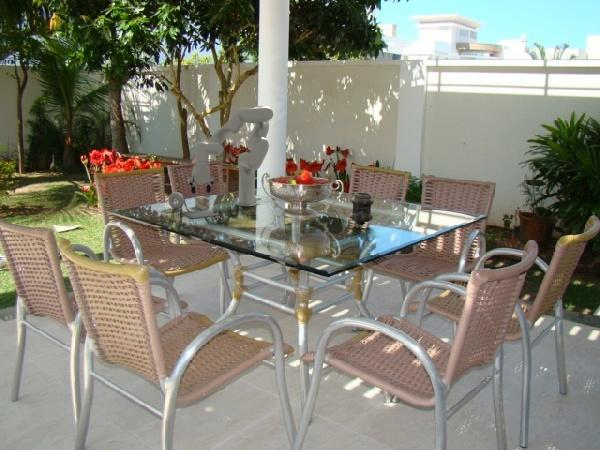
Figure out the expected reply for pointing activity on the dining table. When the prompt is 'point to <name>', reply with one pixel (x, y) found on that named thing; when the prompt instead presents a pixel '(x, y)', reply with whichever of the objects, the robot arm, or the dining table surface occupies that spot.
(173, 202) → the donut
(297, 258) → the dining table surface
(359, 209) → the apothecary jar
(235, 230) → the dining table surface
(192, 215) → the mat
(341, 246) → the dining table surface
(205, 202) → the tan rectangular block
